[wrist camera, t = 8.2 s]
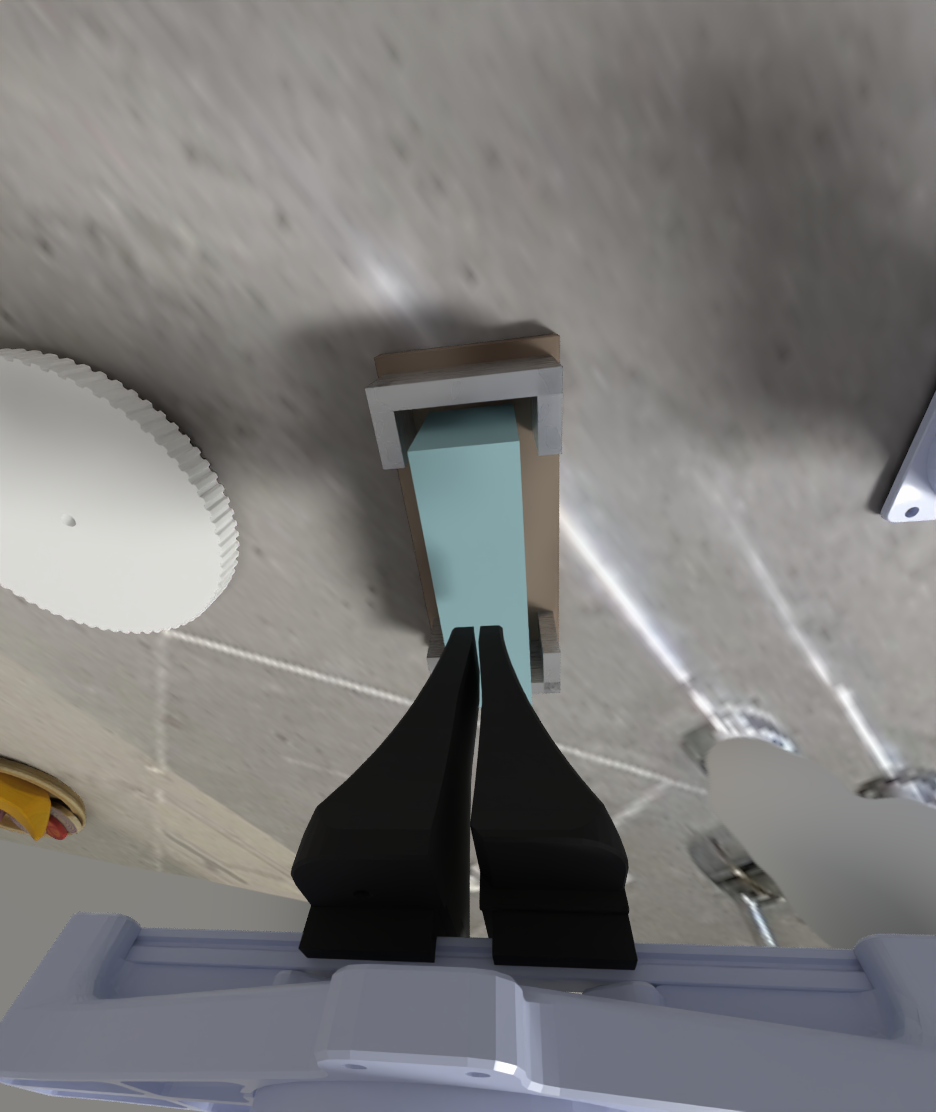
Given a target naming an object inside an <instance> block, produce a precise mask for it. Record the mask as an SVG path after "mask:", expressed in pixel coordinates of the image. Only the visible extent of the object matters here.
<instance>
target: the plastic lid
mask: <svg viewBox="0 0 936 1112" xmlns="http://www.w3.org/2000/svg"><path fill="white" fill-rule="evenodd" d="M178 429H179V427H178V426H177V425H176V424H175V423H174V422H173V423H170V422H169V421H168V420H167V419H166V415H165V414H164V413H163V412H162V411H158V412H157V411H156V410H155V409H154V408H153V407H152V403H151V402H149V401H148V400H142V399H140V398H139V397H138V393H137V392H135V391H134V390H132V389H130V390H127V389H125V388H124V387H123V384H122V383H121V382H119V381H118V380H112V381H111V380H109V379H108V378H107V375H106V374H105V373H103V372H101V371H98V372H93V371H92V370H91V368H90V366H87V365H85V364H80V365H76V364H75V362H74V360H72V359H69V358H64V359H59V358H58V356H57V355H55V354H51V353H50V354H42V352H41V351H36V350H33V351H26V350H25V349H12V350H11V349H9V348H7V349H0V583H1V586H2V587H4V588H5V589H7V588H9V589H10V590H12V591H13V593H14V594H15V595H17V596H22V597H24V598H25V599H26V601H27V602H29V603H35V604H37V605H38V607H39V608H41V609H43V610H44V609H47V610H49V611H51V613H52V614H54V615H58V614H59V615H61V616H63V618H64V619H67V620H70V619H72V620H75V621H76V623H79V624H82V623H85V624H87V625H88V626H89V627H92V628H94V627H95V626H96V627H99V628H100V629H101V630H106V629H110V630H111V631H112V632H118V631H122V632H123V633H129V632H134V633H135V634H139V633H140V632H144V633H146V634H149V633H151V632H152V631H154V632H155V633H158V632H160V631H161V630H162V629H163V630H164V631H169V630H170V629H171V628H172V627H173V628H174V629H176V628H178V627H179V626H180V625H186V624H187V623H188V622H189V621H193V620H194V619H195V618H196V617H199V616H200V615H201V614H202V613H203V612H204V611H205V610H206V609H207V608H208V607H209V606H210V605H211V604H212V603H213V602H214V601H215V599H216V598H217V597H218V596H219V595H220V594H221V593H222V592H223V590H224V589H225V588H226V587H227V586H228V583H229V582H230V581H231V579H232V577H231V576H232V575H233V574H234V572H235V569H234V567H235V566H236V565H237V563H238V561H237V560H235V559H236V558H237V557H238V556H239V551H237V550H236V549H237V548H238V547H239V542H238V541H237V540H236V538H237V537H238V536H239V533H238V531H236V530H235V526H236V525H237V522H236V520H234V519H233V518H232V515H233V514H234V511H233V509H232V508H229V505H228V503H229V502H230V500H229V498H228V497H227V496H225V495H224V493H223V491H224V490H225V489H224V487H223V485H222V484H219V483H218V482H217V480H216V479H217V478H218V476H217V474H216V473H215V472H212V471H211V470H210V469H209V466H210V464H209V462H208V461H207V460H206V459H202V457H201V456H200V453H201V451H200V450H199V449H198V448H197V447H193V446H192V445H191V444H190V438H189V437H188V436H187V435H182V434H181V433H180V432H179V431H178Z"/></svg>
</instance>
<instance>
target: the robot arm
mask: <svg viewBox="0 0 936 1112" xmlns="http://www.w3.org/2000/svg"><path fill="white" fill-rule="evenodd" d="M910 508H911V509H910ZM908 509H910V510H909V511H908V512H906V511H907V510H908ZM880 515H881V517H882V518H883V519H885V520H887V521H889V522H893V523H896V522H911V521H926V520H936V391H935V393H934V396H933V398H932V400H931V402H930V404H929V407H928V409H927V411H926V413H925V415H924V418H923V420H922V422H921V424H920V426H919V429H918V431H917V433H916V435H915V437H914V440H913V442H912V444H911V446H910V448H909V451H908V453H907V455H906V457H905V459H904V462H903V464H902V466H901V468H900V470H899V473H898V475H897V477H896V479H895V481H894V484H893V486H892V488H891V490H890V492H889V495H888V497H887V499H886V501H885V503H884V506H883V508H882V510H881V514H880ZM478 645H479V660H480V669H479V662H478V655H477V647H476V640H475V633H474V626H472V627H455V628H454V629H453V630H452V632H451V634H450V637H449V639H448V642H447V644H446V646H445V648H444V650H443V652H442V655H441V657H440V659H439V661H438V662H437V664H436V666H435V668H434V670H433V672H432V673H431V675H430V677H429V679H428V680H427V682H426V684H425V685H424V687H423V688H422V690H421V692H420V693H419V695H418V696H417V698H416V700H415V701H414V703H413V704H412V705H411V707H410V708H409V710H408V711H407V713H406V714H405V715H404V717H403V718H402V719H401V721H400V722H399V723H398V724H397V726H396V727H395V728H394V729H393V731H392V732H391V733H390V734H389V736H388V737H387V738H386V739H385V740H384V742H383V743H382V744H381V745H380V746H379V747H378V748H377V750H376V751H375V752H374V753H373V754H372V755H371V756H370V757H369V758H368V759H367V760H366V761H365V762H364V763H363V764H362V765H361V766H360V767H359V768H358V769H357V770H356V771H355V772H354V773H353V774H352V775H351V776H350V777H349V778H348V779H347V780H346V781H345V782H344V783H343V784H342V785H341V786H339V787H338V788H337V789H336V790H335V791H334V792H333V793H332V794H331V795H329V796H328V797H327V798H326V799H325V800H324V801H323V802H322V803H320V804H319V805H318V806H317V807H316V809H315V811H314V813H313V815H312V817H311V820H310V822H309V824H308V826H307V828H306V830H305V832H304V835H303V838H302V840H301V843H300V846H299V849H298V852H297V854H296V857H295V860H294V863H293V866H292V870H291V876H292V878H293V880H294V882H295V885H296V886H297V887H298V889H299V890H300V891H301V892H302V894H303V895H304V896H305V898H306V899H307V900H308V902H309V903H310V904H311V908H310V911H309V914H308V918H307V921H306V924H305V928H304V931H303V932H302V933H301V932H271V931H237V930H205V929H172V928H141V926H140V924H139V923H138V922H137V921H135V920H134V919H132V918H130V917H128V916H126V915H122V914H116V913H91V912H90V913H89V912H78V913H76V914H74V915H73V916H72V917H71V919H70V920H69V922H68V923H67V924H66V926H65V927H64V929H63V930H62V932H61V933H60V935H59V936H58V938H57V939H56V941H55V942H54V944H53V945H52V947H51V948H50V950H49V951H48V952H47V954H46V956H45V957H44V958H43V960H42V961H41V963H40V964H39V966H38V967H37V969H36V970H35V972H34V973H33V975H32V976H31V978H30V979H29V980H28V982H27V983H26V985H25V987H24V988H23V989H22V991H21V992H20V994H19V995H18V997H17V998H16V1000H15V1001H14V1003H13V1004H12V1006H11V1007H10V1008H9V1010H8V1011H7V1013H6V1014H5V1016H4V1017H3V1019H2V1021H1V1022H0V1083H2V1084H6V1085H9V1086H13V1087H18V1088H21V1089H25V1090H30V1091H33V1092H37V1093H41V1094H45V1095H49V1096H59V1097H71V1098H83V1099H93V1100H103V1101H114V1102H124V1103H134V1104H142V1105H151V1106H160V1107H168V1108H177V1109H186V1110H195V1111H203V1112H936V935H912V934H874V935H870V936H866V937H864V938H862V939H860V940H859V941H858V942H857V944H856V945H855V947H854V949H827V948H795V947H762V946H729V945H696V944H664V943H634V940H633V935H632V930H631V926H630V921H629V917H628V914H629V906H628V901H627V897H626V892H625V883H626V878H627V873H628V859H627V855H626V852H625V849H624V846H623V844H622V841H621V839H620V836H619V834H618V832H617V830H616V828H615V826H614V824H613V821H612V820H611V818H610V816H609V814H608V812H607V810H606V808H605V806H604V804H603V803H602V802H601V801H600V800H599V798H598V797H597V796H596V795H595V794H594V793H593V792H592V791H591V789H590V788H589V787H588V786H587V785H586V783H585V782H584V781H583V780H582V779H581V777H580V776H579V775H578V774H577V772H576V771H575V770H574V769H573V767H572V766H571V765H570V763H569V762H568V761H567V759H566V758H565V757H564V755H563V754H562V752H561V751H560V750H559V748H558V747H557V745H556V744H555V743H554V741H553V740H552V738H551V737H550V735H549V734H548V732H547V731H546V729H545V728H544V726H543V724H542V723H541V721H540V720H539V718H538V716H537V714H536V713H535V711H534V709H533V708H532V706H531V704H530V702H529V700H528V698H527V696H526V694H525V692H524V690H523V688H522V686H521V684H520V682H519V680H518V678H517V675H516V673H515V670H514V668H513V666H512V663H511V660H510V658H509V655H508V652H507V648H506V645H505V641H504V636H503V628H502V627H501V626H500V625H492V626H480V631H479V640H478ZM480 675H481V689H482V707H481V722H480V736H479V748H478V759H477V769H476V780H475V788H474V797H473V805H472V813H471V821H470V809H471V776H472V764H473V755H474V746H475V738H476V729H477V720H478V711H479V702H480ZM470 827H471V831H472V836H473V841H474V845H475V850H476V855H477V859H478V864H479V869H480V901H479V904H480V910H482V912H483V916H484V920H485V925H486V929H487V933H488V937H489V938H470ZM569 992H583V993H582V994H575V993H569Z"/></svg>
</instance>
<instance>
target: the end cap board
mask: <svg viewBox="0 0 936 1112" xmlns="http://www.w3.org/2000/svg"><path fill="white" fill-rule="evenodd" d="M544 355H552V356H553V357H554V358H555V359H556V360H557V361H558V362H559V363H560V336H559V335H558V334H548V335H539V336H531V337H523V338H515V339H506V340H498V341H490V342H481V343H473V344H465V345H456V346H448V347H440V348H431V349H423V350H415V351H406V352H398V353H390V354H381V355H379V356H377V357H375V358H374V360H375V365H376V369H377V374H378V379H379V378H380V377H381V376H383V375H384V374H388V373H397V372H405V371H414V370H423V369H431V368H440V367H449V366H457V365H466V364H475V363H483V362H492V361H501V360H510V359H518V358H527V357H536V356H544ZM503 404H513V406H514V412H515V418H516V424H517V429H518V435H519V442H520V463H521V484H522V504H523V525H524V546H525V567H526V587H527V608H528V629H529V640H539V639H538V612H553V615H554V620H555V626H556V631H557V636H558V642H559V454H553V455H542V456H539V455H538V451H537V448H536V444H535V440H534V437H533V433H532V409H531V397H523V398H514V399H504V400H495V401H485V402H476V403H466V404H457V405H447V406H438V407H428V408H419V409H412V413H413V419H414V424H415V430H416V435H417V433H418V431H419V430H420V428H421V426H422V424H423V422H424V421H425V419H426V417H427V415H428V413H429V412H436V411H446V410H455V409H465V408H474V407H484V406H493V405H503ZM397 469H398V474H399V479H400V484H401V488H402V493H403V498H404V503H405V507H406V512H407V517H408V522H409V526H410V531H411V536H412V541H413V545H414V550H415V555H416V560H417V564H418V569H419V574H420V579H421V583H422V588H423V593H424V598H425V603H426V607H427V612H428V617H429V622H430V626H431V631H432V626H433V621H434V618H436V617H439V613H438V607H437V602H436V597H435V592H434V587H433V582H432V576H431V571H430V566H429V561H428V556H427V551H426V546H425V540H424V535H423V530H422V525H421V520H420V515H419V509H418V504H417V499H416V494H415V489H414V484H413V478H412V473H411V468H410V463H409V461H408V463H407V465H406V467H405V468H397Z"/></svg>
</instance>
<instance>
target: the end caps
mask: <svg viewBox="0 0 936 1112" xmlns="http://www.w3.org/2000/svg"><path fill="white" fill-rule="evenodd" d="M562 376H563V366H562V365H561V364H560V363H559V362H558V361H557V360H556V359H555V358H554V357H553V356H552V355H544V356H536V357H527V358H518V359H510V360H501V361H492V362H483V363H475V364H466V365H457V366H449V367H440V368H431V369H423V370H414V371H405V372H397V373H388V374H384V375H383V376H381V377H380V378H379V379H377V380H376V381H375V382H373V383H372V384H370V385H369V386H368V387H366V388H365V392H366V396H367V400H368V405H369V409H370V414H371V418H372V422H373V427H374V431H375V435H376V440H377V444H378V448H379V453H380V457H381V462H382V466H383V470H386V469H397V468H405V467H406V465H407V463H408V461H409V458H408V453H407V451H408V450H409V448H410V446H411V444H412V442H413V441H414V439H415V437H416V430H415V424H414V419H413V413H412V409H419V408H428V407H438V406H447V405H457V404H466V403H476V402H485V401H495V400H504V399H514V398H523V397H531V409H532V433H533V437H534V440H535V444H536V448H537V451H538V455H539V456H542V455H553V454H562ZM538 639H539V640H529V650H530V670H531V691H532V694H539V693H560V647H559V642H558V636H557V631H556V626H555V620H554V615H553V612H538ZM444 648H445V644H444V638H443V633H442V628H441V623H440V618H439V617H436V618H434V621H433V626H432V632H431V637H430V642H429V648H428V653H427V662H428V667H429V671H430V675H431V673H432V672H433V670H434V668H435V666H436V664H437V662H438V661H439V659H440V657H441V655H442V652H443V650H444Z"/></svg>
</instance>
